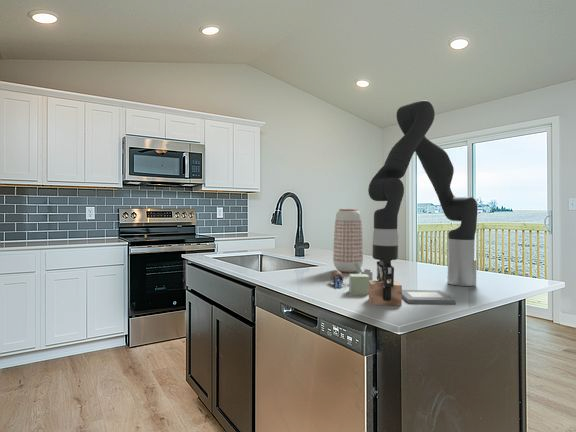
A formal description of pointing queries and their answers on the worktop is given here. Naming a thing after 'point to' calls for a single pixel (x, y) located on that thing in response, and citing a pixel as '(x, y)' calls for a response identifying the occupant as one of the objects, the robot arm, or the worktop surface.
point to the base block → (377, 293)
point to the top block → (359, 283)
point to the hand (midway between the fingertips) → (384, 297)
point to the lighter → (366, 271)
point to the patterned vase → (348, 240)
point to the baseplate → (427, 297)
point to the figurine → (337, 279)
